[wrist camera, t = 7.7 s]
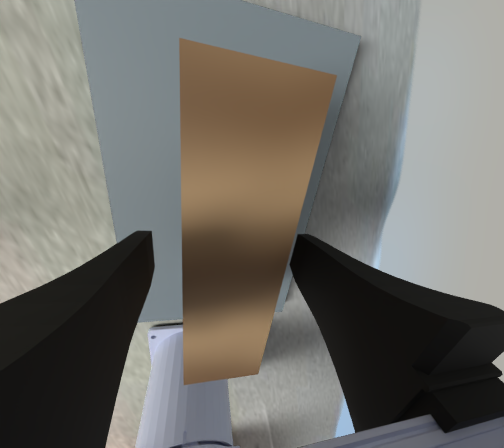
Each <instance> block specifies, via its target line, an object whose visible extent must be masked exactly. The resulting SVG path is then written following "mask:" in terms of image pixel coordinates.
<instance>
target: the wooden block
mask: <svg viewBox="0 0 504 448" xmlns="http://www.w3.org/2000/svg"><path fill="white" fill-rule="evenodd" d="M179 61H180V140H181V220H182V300H183V380H184V385H189V384H196V383H203V382H209V381H216V380H222V379H229V378H236V377H242V376H249V375H256V374H258V372H259V369H260V365H261V361H262V357H263V354H264V350H265V346H266V342H267V338H268V335H269V331H270V327H271V323H272V320H273V316H274V312H275V308H276V304H277V301H278V297H279V293H280V289H281V286H282V282H283V278H284V274H285V270H286V267H287V263H288V259H289V255H290V252H291V248H292V244H293V240H294V236H295V233H296V229H297V225H298V221H299V218H300V214H301V210H302V206H303V202H304V199H305V195H306V191H307V187H308V184H309V180H310V176H311V172H312V168H313V165H314V161H315V157H316V153H317V150H318V146H319V142H320V138H321V134H322V131H323V127H324V123H325V119H326V116H327V112H328V108H329V104H330V100H331V97H332V93H333V89H334V85H335V82H336V78H337V75H334V74H330V73H325V72H321V71H317V70H313V69H309V68H304V67H300V66H296V65H292V64H288V63H283V62H279V61H275V60H271V59H267V58H262V57H258V56H254V55H250V54H245V53H241V52H237V51H233V50H229V49H224V48H220V47H216V46H212V45H208V44H203V43H199V42H195V41H191V40H186V39H182V38H179Z"/></svg>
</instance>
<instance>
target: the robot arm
mask: <svg viewBox="0 0 504 448" xmlns="http://www.w3.org/2000/svg"><path fill="white" fill-rule="evenodd" d="M289 265H290V268H291V271H292V274H293V277H294V279H295V282H296V284H297V286H298V288H299V289H300V291H301V293H302V295H303V297H304V299H305V301H306V303H307V304H308V306H309V308H310V310H311V312H312V314H313V316H314V318H315V320H316V322H317V324H318V326H319V328H320V331H321V333H322V336H323V338H324V340H325V343H326V345H327V348H328V351H329V353H330V356H331V359H332V361H333V364H334V367H335V369H336V372H337V375H338V378H339V381H340V384H341V387H342V390H343V393H344V396H345V399H346V403H347V406H348V409H349V412H350V416H351V419H352V422H353V426H354V429H355V433H353V434H349V435H345V436H341V437H337V438H333V439H329V440H325V441H321V442H317V443H314V444H310V445H306V446H302V447H298V448H504V383H503V382H502V381H501V380H500V379H499V378H498V377H500V376H501V375H502V371H500V370H499V369H498V368H497V367H496V366H495V365H494V364H492V362H493V361H494V360H495V359H496V358H497V357H498V356H499V355H500V354H501V353H502V352H504V311H503V310H501V309H499V308H497V307H495V306H492V305H489V304H485V303H481V302H477V301H473V300H469V299H465V298H461V297H457V296H453V295H449V294H446V293H442V292H439V291H436V290H432V289H429V288H426V287H423V286H420V285H416V284H413V283H411V282H408V281H405V280H402V279H400V278H397V277H394V276H392V275H389V274H387V273H384V272H382V271H380V270H378V269H375V268H373V267H371V266H369V265H366V264H364V263H362V262H360V261H358V260H356V259H354V258H352V257H351V256H349V255H347V254H345V253H343V252H341V251H339V250H338V249H336V248H334V247H332V246H330V245H329V244H327V243H325V242H323V241H321V240H319V239H318V238H316V237H314V236H311V235H309V234H297V238H296V242H295V246H294V249H293V253H292V257H291V260H290V264H289ZM154 269H155V262H154V250H153V238H152V231H139V230H137V231H135V232H134V233H132V234H130V235H129V236H127V237H126V238H124V239H123V240H121V241H120V242H119V243H117V244H115V245H114V246H112V247H111V248H109V249H108V250H106V251H105V252H103V253H102V254H100V255H98V256H97V257H95V258H93V259H92V260H90V261H88V262H86V263H85V264H83V265H81V266H80V267H78V268H76V269H74V270H72V271H71V272H69V273H67V274H65V275H63V276H61V277H59V278H57V279H55V280H53V281H51V282H49V283H47V284H44V285H42V286H40V287H38V288H36V289H33V290H31V291H29V292H26V293H24V294H22V295H19V296H17V297H15V298H12V299H10V300H8V301H5V302H3V303H1V304H0V448H105V446H106V441H107V437H108V432H109V428H110V423H111V419H112V415H113V410H114V406H115V401H116V397H117V393H118V389H119V385H120V381H121V377H122V373H123V369H124V365H125V361H126V357H127V353H128V350H129V346H130V342H131V339H132V336H133V333H134V330H135V328H136V325H137V322H138V320H139V317H140V314H141V312H142V309H143V306H144V303H145V301H146V298H147V295H148V293H149V290H150V287H151V283H152V279H153V274H154ZM148 341H149V348H150V356H151V364H152V368H151V373H150V378H149V383H148V388H147V392H146V397H145V402H144V407H143V412H142V416H141V421H140V426H139V431H138V436H137V441H136V445H135V448H240V446H233V437H232V426H231V415H230V403H229V392H228V381H227V379H222V380H216V381H209V382H203V383H196V384H189V385H184V380H183V325H173V326H161V327H152V328H150V329H149V330H148Z"/></svg>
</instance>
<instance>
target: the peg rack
mask: <svg viewBox="0 0 504 448" xmlns="http://www.w3.org/2000/svg"><path fill="white" fill-rule="evenodd" d="M74 1H75V6H76V12H77V18H78V24H79V29H80V35H81V41H82V46H83V52H84V58H85V64H86V69H87V75H88V81H89V86H90V92H91V98H92V104H93V109H94V115H95V121H96V127H97V132H98V138H99V144H100V149H101V155H102V161H103V167H104V172H105V178H106V184H107V189H108V195H109V201H110V207H111V212H112V218H113V224H114V230H115V235H116V241H117V243H119V242H120V241H121V240H123V239H124V238H126V237H127V236H129V235H130V234H132V233H134V232H135V231H137V230H139V231H152V238H153V250H154V262H155V269H154V274H153V279H152V283H151V287H150V290H149V293H148V295H147V298H146V301H145V303H144V306H143V309H142V312H141V314H140V317H139V320H138V322H151V321H164V320H177V319H183V300H182V220H181V140H180V61H179V38H182V39H186V40H191V41H195V42H199V43H203V44H208V45H212V46H216V47H220V48H224V49H229V50H233V51H237V52H241V53H245V54H250V55H254V56H258V57H262V58H267V59H271V60H275V61H279V62H283V63H288V64H292V65H296V66H300V67H304V68H309V69H313V70H317V71H321V72H325V73H330V74H334V75H337V78H336V82H335V85H334V89H333V93H332V97H331V100H330V104H329V108H328V112H327V116H326V119H325V123H324V127H323V131H322V134H321V138H320V142H319V146H318V150H317V153H316V157H315V161H314V165H313V168H312V172H311V176H310V180H309V184H308V187H307V191H306V195H305V199H304V202H303V206H302V210H301V214H300V218H299V221H298V225H297V229H296V233H295V236H294V240H293V244H292V248H291V252H290V255H289V259H288V263H287V267H286V270H285V274H284V278H283V282H282V286H281V289H280V293H279V297H278V301H277V304H276V308H275V312H282V310H283V307H284V303H285V300H286V296H287V293H288V290H289V286H290V283H291V279H292V276H293V274H292V271H291V268H290V265H289V264H290V260H291V257H292V253H293V249H294V246H295V242H296V238H297V234H305V230H306V227H307V223H308V220H309V216H310V213H311V210H312V206H313V203H314V199H315V196H316V192H317V189H318V185H319V182H320V178H321V175H322V171H323V168H324V164H325V161H326V157H327V154H328V150H329V147H330V143H331V140H332V136H333V133H334V130H335V126H336V123H337V119H338V116H339V112H340V109H341V105H342V102H343V98H344V95H345V91H346V88H347V84H348V81H349V77H350V74H351V70H352V67H353V63H354V60H355V56H356V53H357V50H358V46H359V43H360V39H361V36H359V35H355V34H352V33H349V32H345V31H342V30H339V29H335V28H332V27H329V26H325V25H322V24H319V23H315V22H312V21H309V20H305V19H302V18H299V17H295V16H292V15H289V14H285V13H282V12H279V11H275V10H272V9H269V8H265V7H262V6H259V5H255V4H252V3H249V2H245V1H242V0H74ZM138 322H137V323H138Z"/></svg>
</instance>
